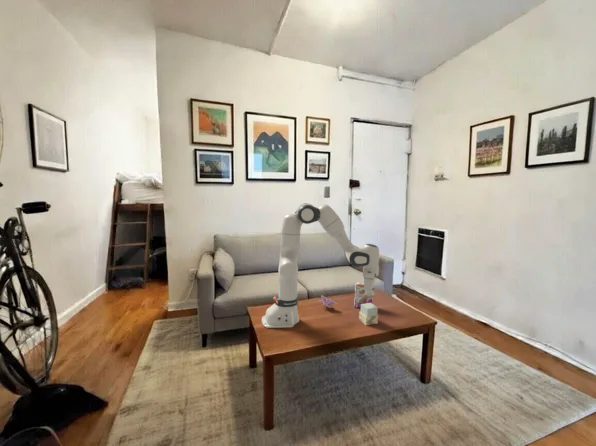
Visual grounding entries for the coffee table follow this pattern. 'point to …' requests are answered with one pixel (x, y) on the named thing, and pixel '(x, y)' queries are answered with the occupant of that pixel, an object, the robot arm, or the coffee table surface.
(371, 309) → the tower top
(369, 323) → the tower base
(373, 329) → the coffee table surface
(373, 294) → the cube
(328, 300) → the lily
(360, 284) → the candy bar box
